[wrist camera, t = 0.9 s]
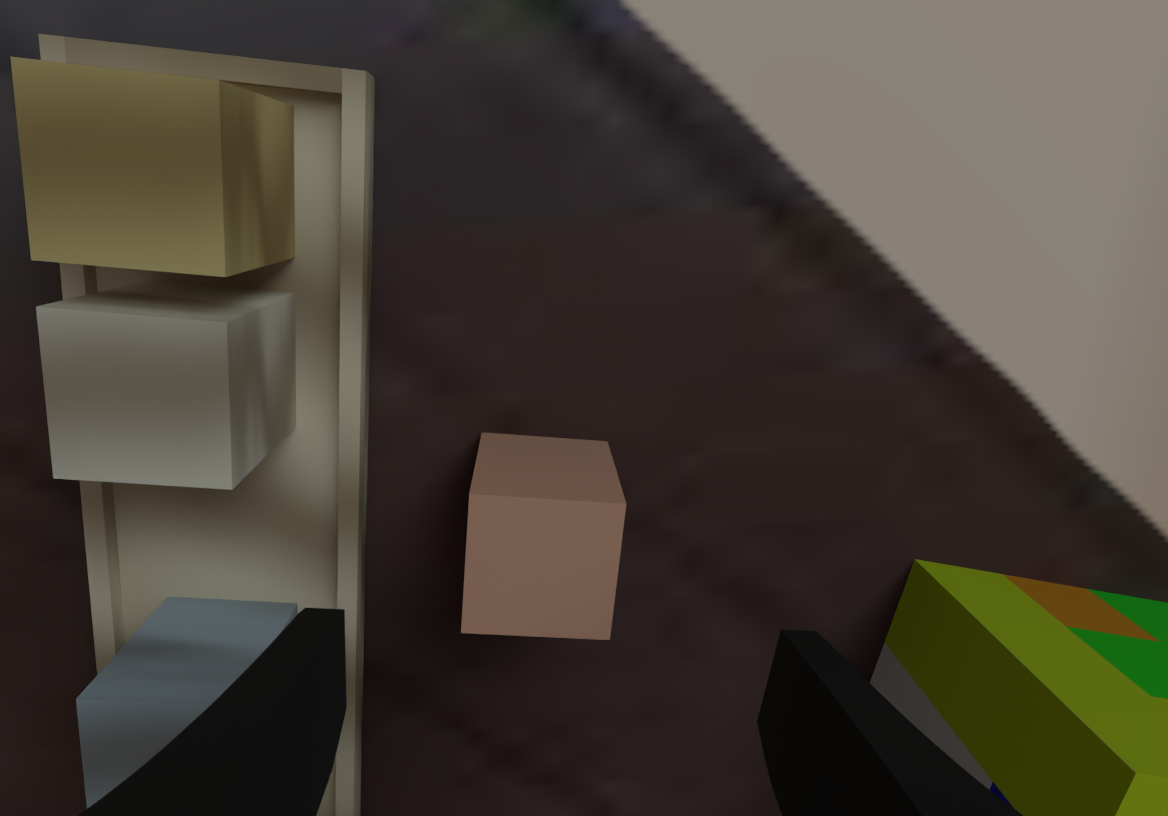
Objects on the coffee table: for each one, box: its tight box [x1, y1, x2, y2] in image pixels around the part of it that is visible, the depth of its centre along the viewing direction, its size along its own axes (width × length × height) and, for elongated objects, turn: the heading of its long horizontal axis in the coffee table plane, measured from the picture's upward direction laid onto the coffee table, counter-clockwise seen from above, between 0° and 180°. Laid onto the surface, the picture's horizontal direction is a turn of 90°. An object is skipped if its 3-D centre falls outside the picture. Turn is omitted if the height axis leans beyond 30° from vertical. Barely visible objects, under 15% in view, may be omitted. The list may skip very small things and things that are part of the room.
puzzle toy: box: [870, 559, 1168, 816], centre depth 23 cm, size 10×10×10 cm
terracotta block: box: [461, 433, 626, 640], centre depth 22 cm, size 4×4×5 cm
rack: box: [11, 34, 375, 816], centre depth 21 cm, size 26×8×6 cm, turn 174°
